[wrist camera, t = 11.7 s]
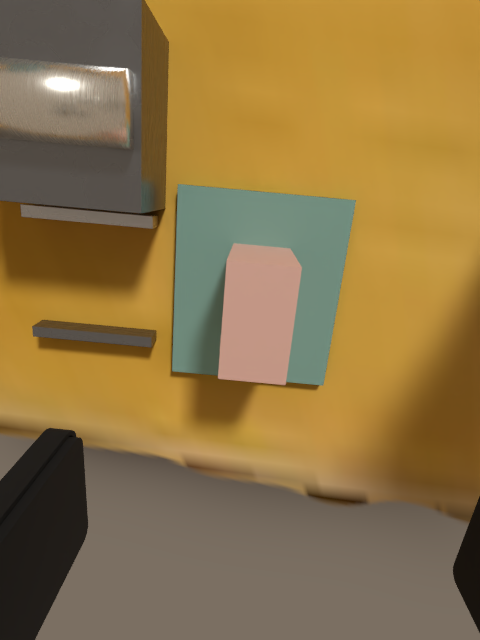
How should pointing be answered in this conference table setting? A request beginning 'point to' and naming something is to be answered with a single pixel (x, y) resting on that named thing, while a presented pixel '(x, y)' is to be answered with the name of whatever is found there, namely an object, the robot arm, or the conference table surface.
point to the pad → (264, 230)
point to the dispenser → (84, 122)
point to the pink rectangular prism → (258, 313)
